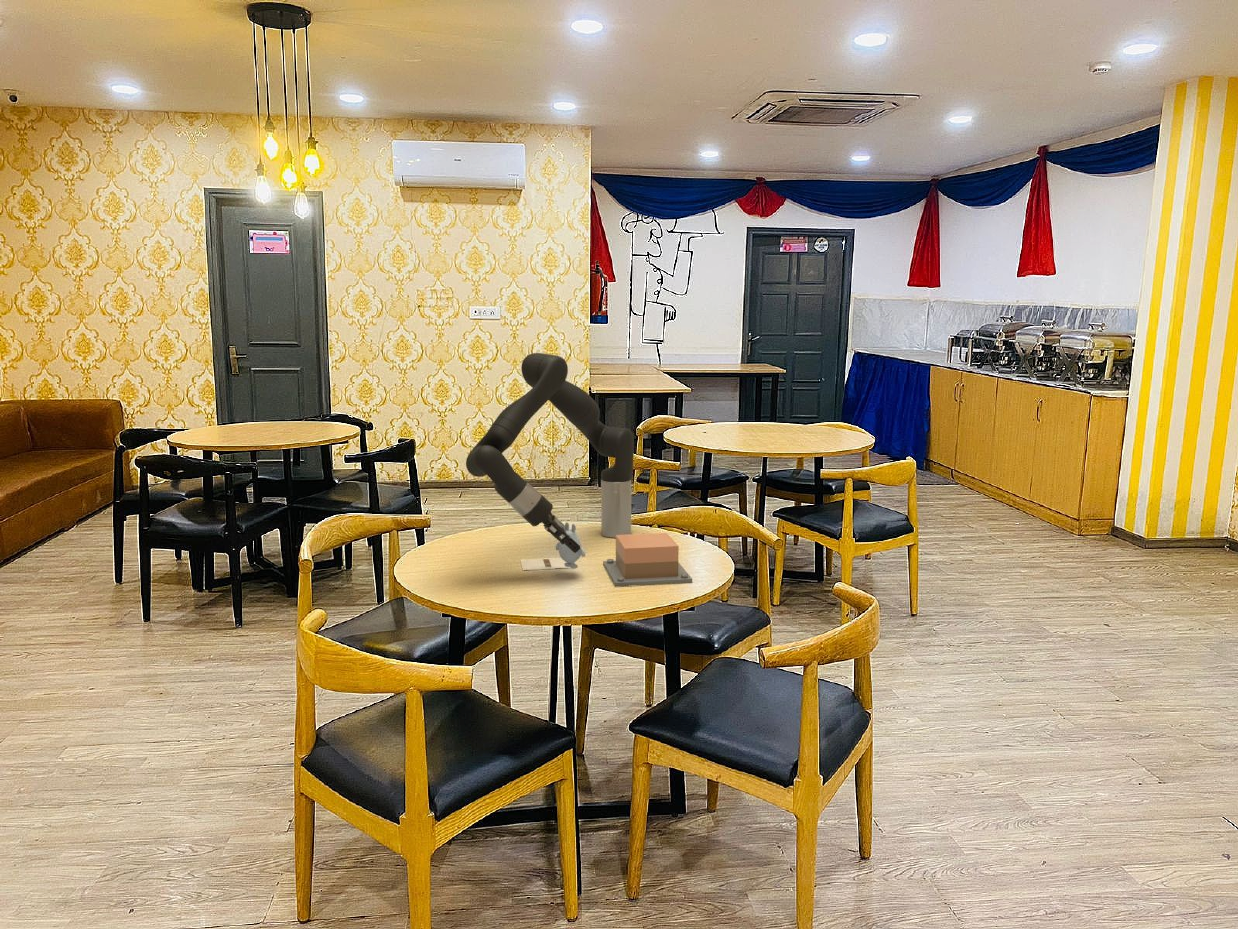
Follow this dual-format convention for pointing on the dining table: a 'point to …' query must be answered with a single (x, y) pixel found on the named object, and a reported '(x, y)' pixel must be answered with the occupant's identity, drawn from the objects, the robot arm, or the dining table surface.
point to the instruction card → (542, 563)
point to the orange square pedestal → (646, 561)
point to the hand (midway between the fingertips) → (576, 546)
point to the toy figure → (567, 552)
